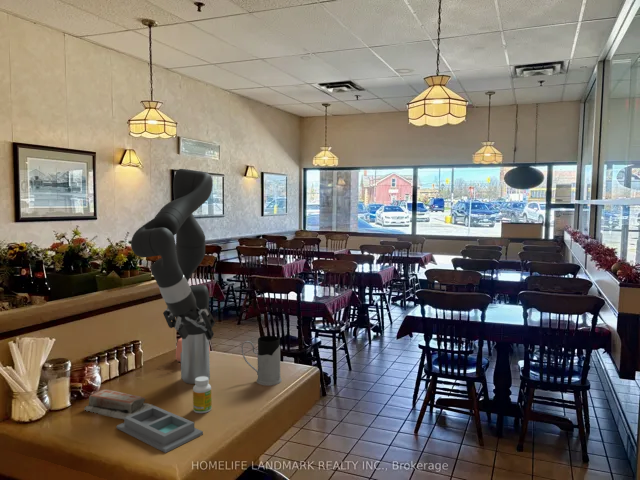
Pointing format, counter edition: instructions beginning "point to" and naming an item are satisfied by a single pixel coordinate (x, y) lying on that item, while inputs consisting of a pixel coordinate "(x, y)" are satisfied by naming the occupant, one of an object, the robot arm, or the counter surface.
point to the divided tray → (159, 428)
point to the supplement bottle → (202, 395)
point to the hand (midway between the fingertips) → (198, 337)
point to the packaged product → (116, 404)
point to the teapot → (179, 350)
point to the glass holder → (267, 360)
